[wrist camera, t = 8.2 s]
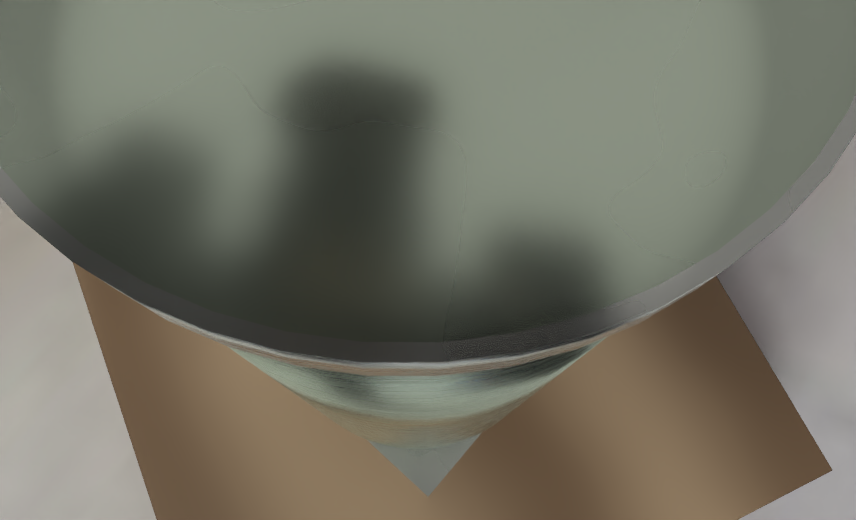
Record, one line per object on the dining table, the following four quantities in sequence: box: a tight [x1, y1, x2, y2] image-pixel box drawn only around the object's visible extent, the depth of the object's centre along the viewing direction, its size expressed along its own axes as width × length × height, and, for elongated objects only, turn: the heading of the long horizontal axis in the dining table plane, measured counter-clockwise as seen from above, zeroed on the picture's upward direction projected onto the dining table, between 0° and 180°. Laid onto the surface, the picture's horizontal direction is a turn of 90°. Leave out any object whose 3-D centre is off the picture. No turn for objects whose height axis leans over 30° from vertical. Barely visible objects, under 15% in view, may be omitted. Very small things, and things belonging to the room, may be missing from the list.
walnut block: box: [73, 262, 832, 520], centre depth 19 cm, size 14×14×4 cm
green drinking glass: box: [0, 0, 856, 496], centre depth 11 cm, size 6×6×13 cm
